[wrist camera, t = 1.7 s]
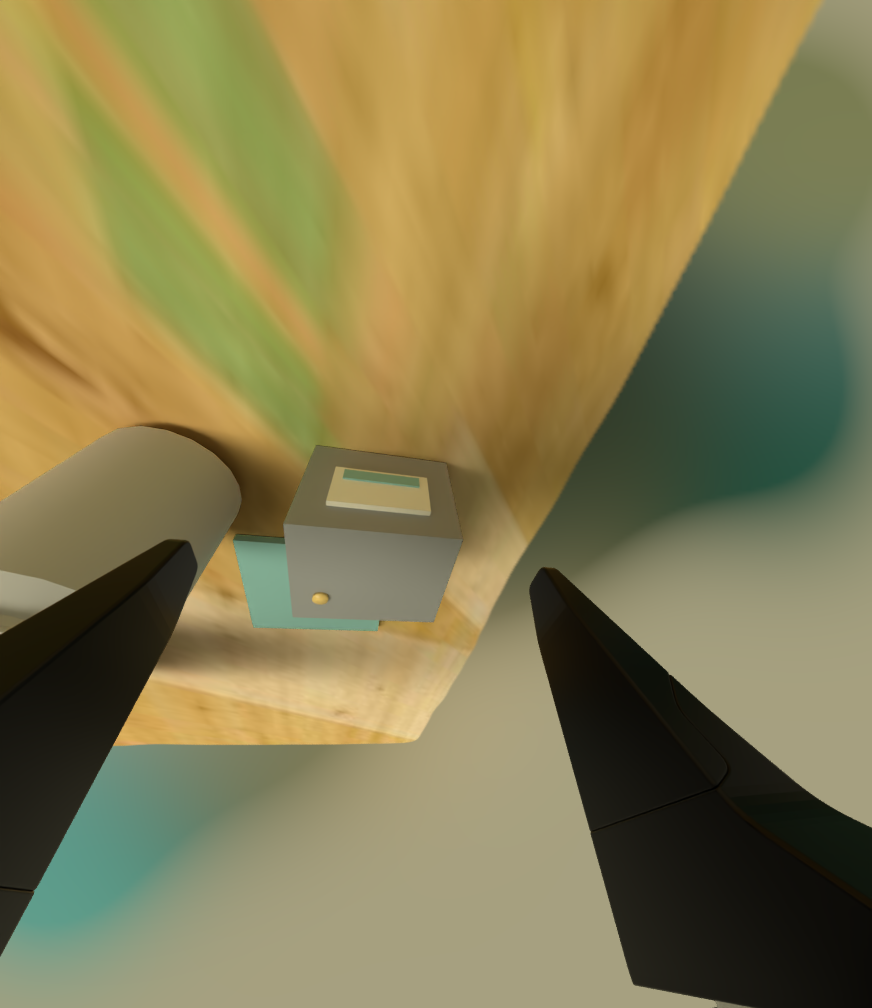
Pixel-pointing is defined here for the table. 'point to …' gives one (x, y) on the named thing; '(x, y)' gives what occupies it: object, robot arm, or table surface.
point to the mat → (278, 588)
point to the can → (109, 515)
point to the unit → (371, 537)
